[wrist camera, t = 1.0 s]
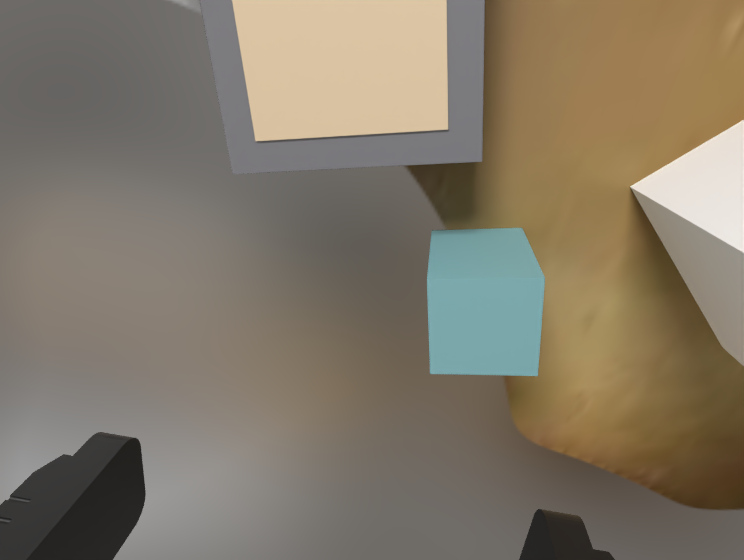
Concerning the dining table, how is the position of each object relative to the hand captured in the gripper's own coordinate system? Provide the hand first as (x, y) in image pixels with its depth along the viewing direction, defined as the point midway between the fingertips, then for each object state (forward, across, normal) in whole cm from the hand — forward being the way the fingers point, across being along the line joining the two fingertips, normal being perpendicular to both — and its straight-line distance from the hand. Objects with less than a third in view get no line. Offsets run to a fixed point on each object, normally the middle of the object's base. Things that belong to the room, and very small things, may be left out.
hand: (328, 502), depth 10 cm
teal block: (+20, -5, +2) cm, 20 cm away
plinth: (+20, +3, -10) cm, 22 cm away
